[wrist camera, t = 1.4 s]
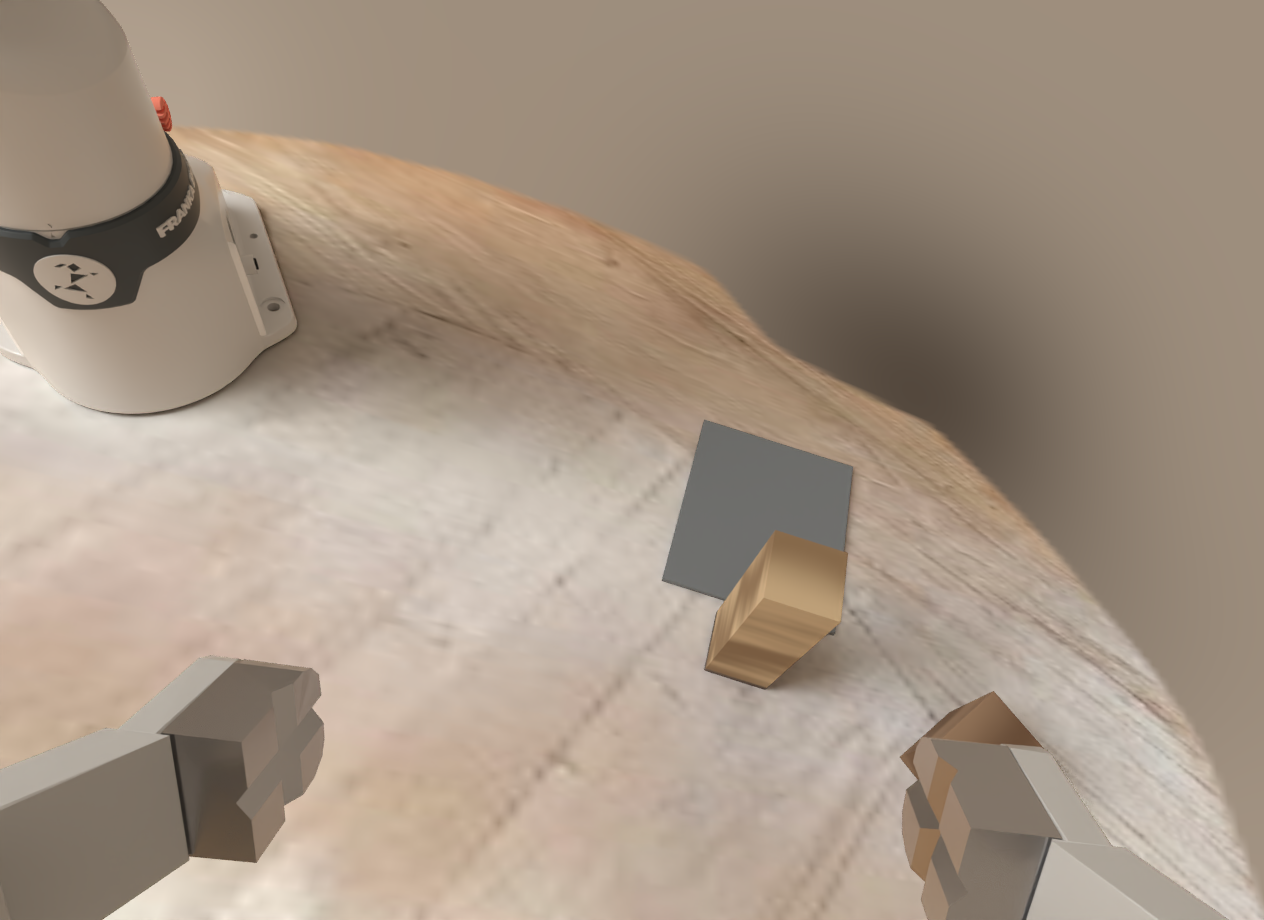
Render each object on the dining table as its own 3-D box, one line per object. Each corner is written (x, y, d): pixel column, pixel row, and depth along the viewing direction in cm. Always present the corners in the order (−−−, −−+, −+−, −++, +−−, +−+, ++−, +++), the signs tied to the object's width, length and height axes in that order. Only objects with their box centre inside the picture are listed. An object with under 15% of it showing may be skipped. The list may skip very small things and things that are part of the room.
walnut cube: (899, 757, 46) (940, 739, 41) (949, 712, 48) (993, 691, 44) (958, 831, 44) (1007, 820, 40) (1007, 781, 46) (1059, 766, 42)
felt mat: (833, 635, 49) (834, 633, 49) (662, 580, 49) (662, 578, 49) (851, 468, 57) (853, 466, 57) (703, 421, 57) (704, 419, 57)
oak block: (764, 689, 46) (840, 622, 36) (704, 670, 46) (763, 597, 36) (774, 631, 49) (847, 552, 39) (716, 612, 49) (775, 529, 39)
